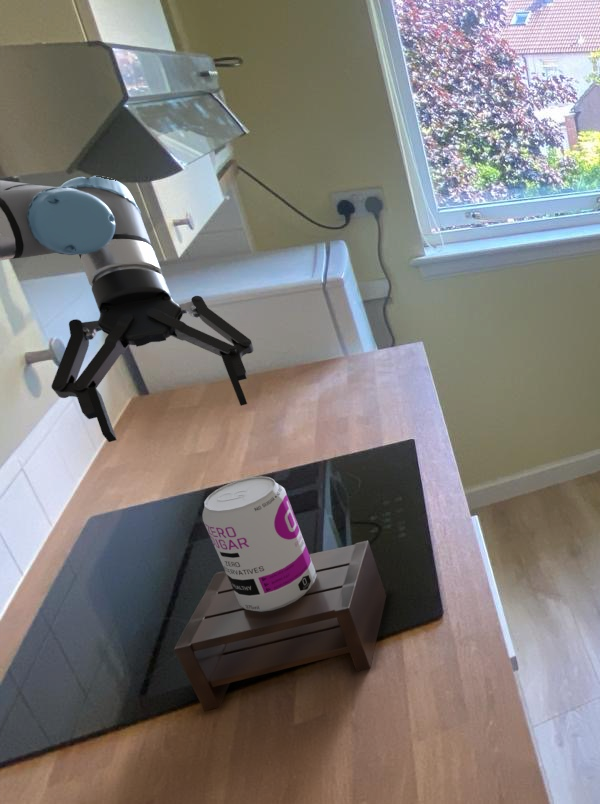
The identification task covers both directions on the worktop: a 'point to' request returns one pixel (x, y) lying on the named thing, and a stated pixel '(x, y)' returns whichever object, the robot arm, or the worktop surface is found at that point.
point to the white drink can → (259, 543)
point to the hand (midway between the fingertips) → (179, 418)
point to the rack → (284, 625)
